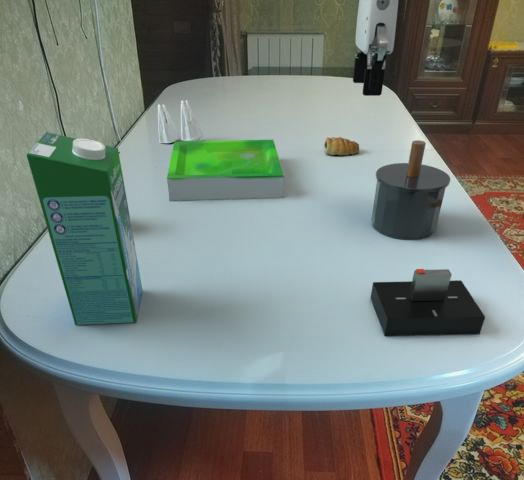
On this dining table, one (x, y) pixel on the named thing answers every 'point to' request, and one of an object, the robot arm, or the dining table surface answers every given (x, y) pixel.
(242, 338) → the dining table surface
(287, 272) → the dining table surface
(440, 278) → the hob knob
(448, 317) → the panel
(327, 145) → the pastry
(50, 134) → the milk carton
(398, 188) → the lid
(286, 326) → the dining table surface
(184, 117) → the shaker set
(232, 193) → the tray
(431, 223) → the pot
